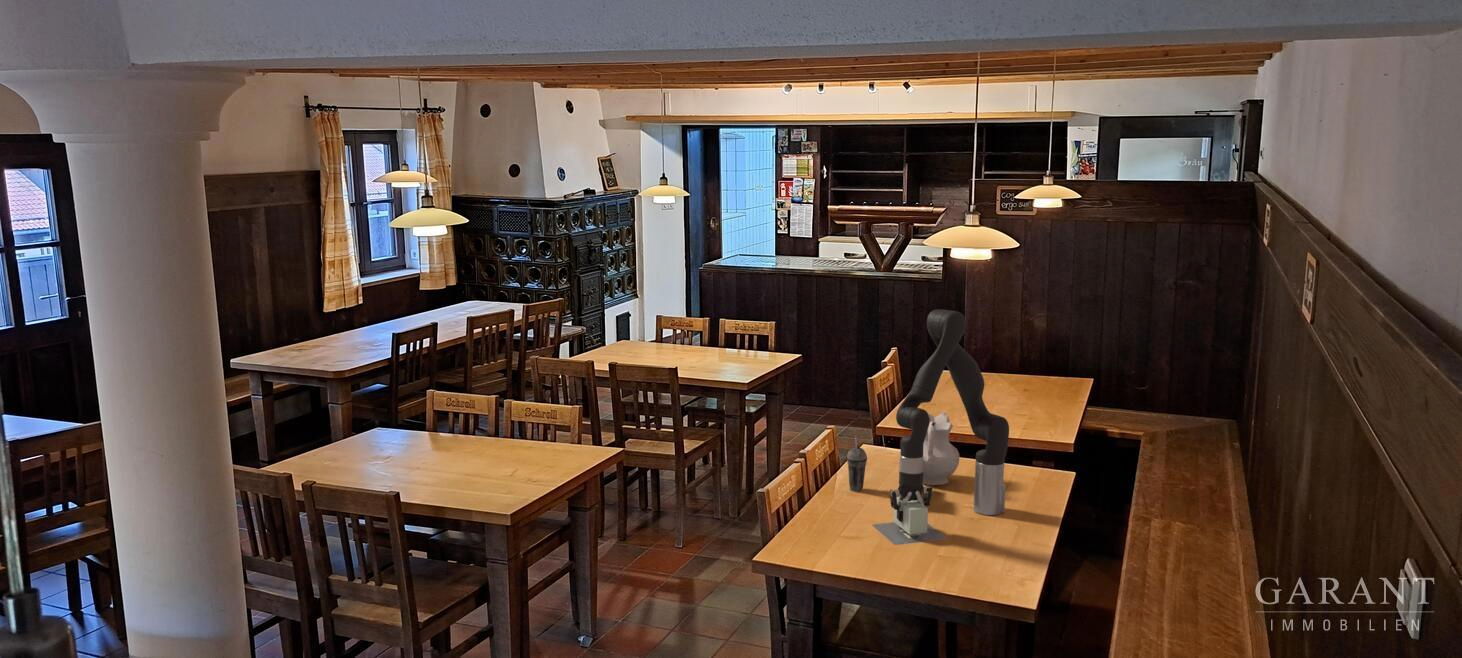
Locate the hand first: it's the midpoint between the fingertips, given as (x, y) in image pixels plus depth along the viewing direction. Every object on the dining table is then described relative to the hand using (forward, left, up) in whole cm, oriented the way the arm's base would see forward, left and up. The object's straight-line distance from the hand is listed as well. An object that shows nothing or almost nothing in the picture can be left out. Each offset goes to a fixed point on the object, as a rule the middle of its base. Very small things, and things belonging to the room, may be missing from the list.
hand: (910, 519), depth 331 cm
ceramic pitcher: (-30, -44, -4) cm, 53 cm away
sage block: (0, 0, -2) cm, 2 cm away
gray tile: (0, 0, -4) cm, 4 cm away
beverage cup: (0, -43, -4) cm, 43 cm away
